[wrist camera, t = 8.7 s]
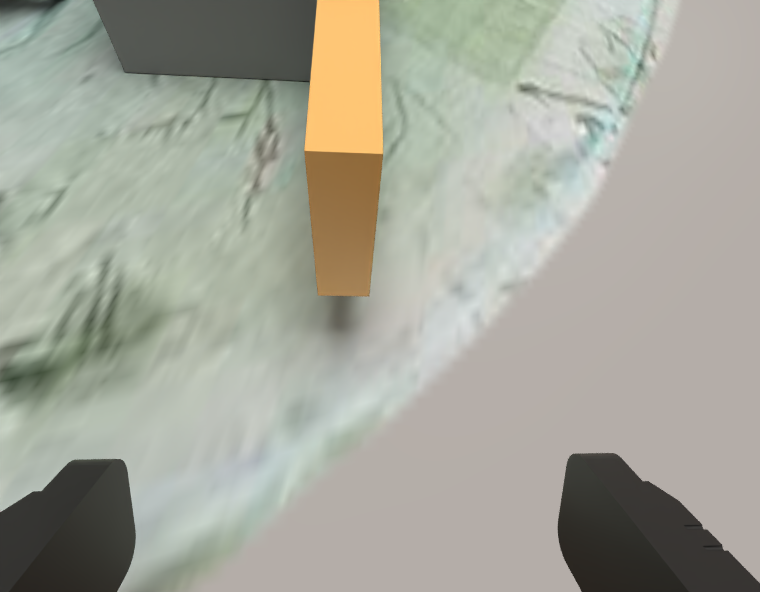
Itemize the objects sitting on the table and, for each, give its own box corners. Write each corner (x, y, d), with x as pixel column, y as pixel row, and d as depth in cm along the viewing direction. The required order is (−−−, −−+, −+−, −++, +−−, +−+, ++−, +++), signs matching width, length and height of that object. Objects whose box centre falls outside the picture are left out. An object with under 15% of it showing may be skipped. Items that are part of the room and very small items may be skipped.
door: (320, 322, 16) (301, 114, 9) (335, 29, 25) (331, -209, 17) (366, 322, 17) (386, 118, 9) (365, 31, 25) (375, -205, 17)
